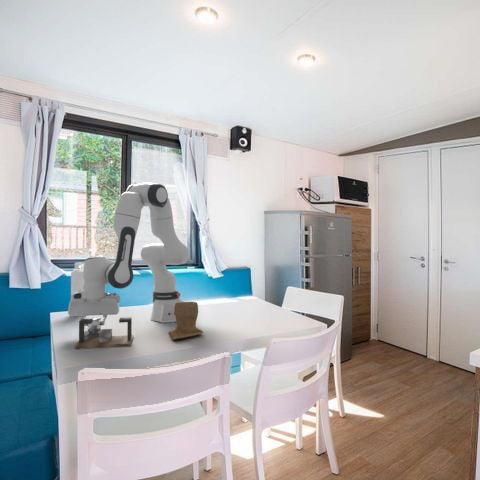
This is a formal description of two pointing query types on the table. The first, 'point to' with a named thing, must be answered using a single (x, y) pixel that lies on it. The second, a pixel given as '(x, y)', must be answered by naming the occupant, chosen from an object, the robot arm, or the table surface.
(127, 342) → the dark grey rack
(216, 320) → the table surface
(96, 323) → the grey crossbar piece
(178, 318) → the brown upright based slab
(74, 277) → the bottle
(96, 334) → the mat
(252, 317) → the table surface
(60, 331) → the table surface
